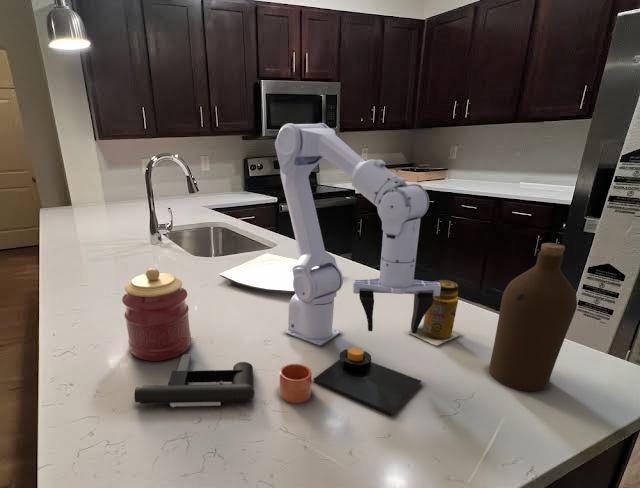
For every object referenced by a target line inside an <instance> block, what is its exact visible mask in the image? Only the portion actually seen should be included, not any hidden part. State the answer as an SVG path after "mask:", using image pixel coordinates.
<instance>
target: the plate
mask: <svg viewBox="0 0 640 488" xmlns="http://www.w3.org/2000/svg"><path fill="white" fill-rule="evenodd" d="M297 261H298V259H296V258H290V257H285V256H281V255H276V254H272V253H264V254H262V255H259V256H258V257H255V258H253V259H251V260H249V261H246V262H244V263H242V264H240V265H239V264H238V265H237V266H235V267H233V268H230V269H228V270H225V271H222V272H220V273H219V276H220V277H221V278H223V279H225V280H228V281H230V282H232V283H235V284H237V285H240V286H243V287H247V288H251V289H256V290H259V291H264V292H272V293H281V294H282V293H283V294H295V291H294V288H293V271H292V268H293V266H294V265H295V264H296V262H297ZM316 268H319V267H318V266H316V267H313V268H312V269H316ZM312 269H311V270H312Z"/></svg>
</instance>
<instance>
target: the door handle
mask: <svg viewBox="0 0 640 488" xmlns="http://www.w3.org/2000/svg"><path fill="white" fill-rule="evenodd" d="M191 365H192V354H190V353H189V354H181V358H180V360H179V364H178V367H177V370H172V371H171V374H170V377H169V379H168V383H167V385H166V384H165V385H164V384H163V385H142V386H136V387H135V388H134V395H133V396H134V402H135V403H139V404H143V405H153V404H154V405H157V404H158V405H159V404H169V406H170V407H171V408H175V407H216V406H217V407H218V406H219V407H220V406H221V403H237V404H238V403H248V402H250V401H252V400H253V398H254V397H255V389H254V366H253V365H252V364H251V363H249V362H247V361H239V362H236V363H235V364H234V365H233V368H232V369H215V370H214V369H213V370H212V369H211V370H210V369H209V370H207V369H206V370H205V369H204V370H190V368H191ZM195 383H196V384H195ZM199 383H202V384H199ZM203 383H204V384H203ZM205 383H218V384H205Z"/></svg>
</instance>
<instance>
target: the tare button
mask: <svg viewBox="0 0 640 488" xmlns="http://www.w3.org/2000/svg"><path fill="white" fill-rule="evenodd" d="M347 349H348V355H347V358H348V359H350V360H352V361H361V360H363V357H364V351H365V350H364V349H363V348H362V347H358V346H352V347H349V348H347Z"/></svg>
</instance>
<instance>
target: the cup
mask: <svg viewBox="0 0 640 488" xmlns="http://www.w3.org/2000/svg"><path fill="white" fill-rule="evenodd" d="M312 375H313V372H312V370H311V369H310V368H309V367H308V366H306V365H304V364H301V363H289V364H286V365H285V364H284V365H283V366H282V367H281V368H280V370H279V377H278V378H279V379H278V380H279V386H278V387H279V389H278V390H279V396H280V398H281V399H282V400H283V401H286V402H288V403H292V404H299V403H304V402H307V401H308V400H309V399H310V398H311V393H312V377H313V376H312Z"/></svg>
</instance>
